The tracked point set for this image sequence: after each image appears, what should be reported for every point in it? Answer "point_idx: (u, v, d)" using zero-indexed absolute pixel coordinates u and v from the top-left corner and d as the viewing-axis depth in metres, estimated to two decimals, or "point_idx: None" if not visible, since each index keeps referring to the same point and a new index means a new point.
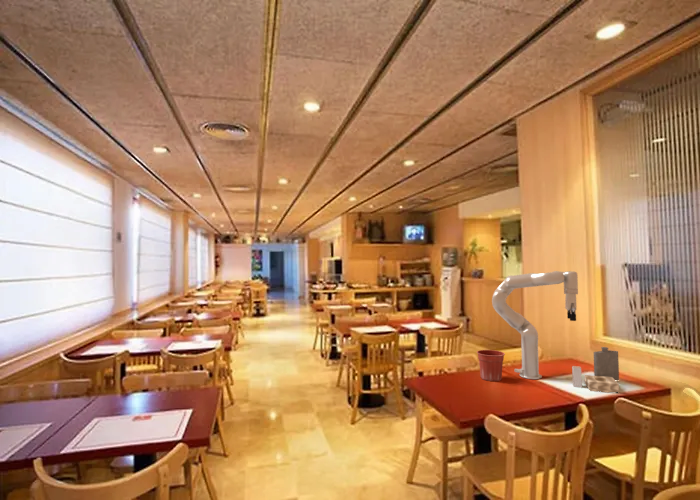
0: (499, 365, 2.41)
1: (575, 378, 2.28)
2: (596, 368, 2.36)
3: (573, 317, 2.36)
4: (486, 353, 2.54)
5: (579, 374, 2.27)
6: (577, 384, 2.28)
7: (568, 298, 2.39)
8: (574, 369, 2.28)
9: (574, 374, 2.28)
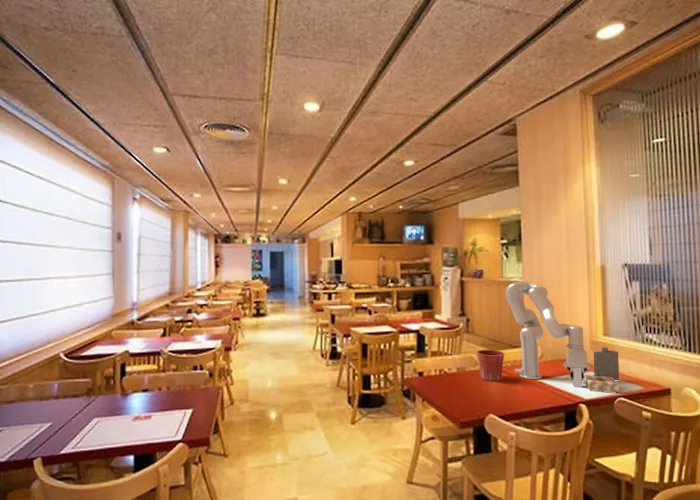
0: (499, 365, 2.41)
1: (575, 378, 2.28)
2: (596, 368, 2.36)
3: None
4: (486, 353, 2.54)
5: (579, 374, 2.27)
6: (577, 384, 2.28)
7: (585, 355, 2.26)
8: (574, 369, 2.28)
9: (574, 374, 2.28)
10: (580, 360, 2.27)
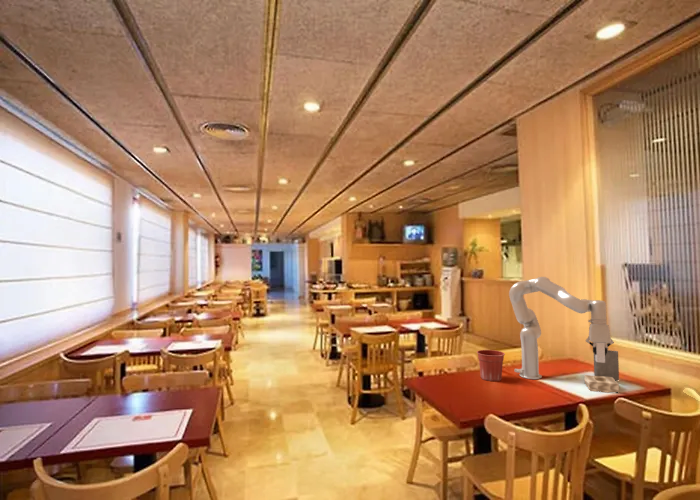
0: (499, 365, 2.41)
1: (598, 353, 2.24)
2: (596, 368, 2.36)
3: None
4: (486, 353, 2.54)
5: (602, 349, 2.23)
6: (600, 359, 2.24)
7: None
8: (597, 344, 2.24)
9: (597, 349, 2.24)
10: (603, 335, 2.23)
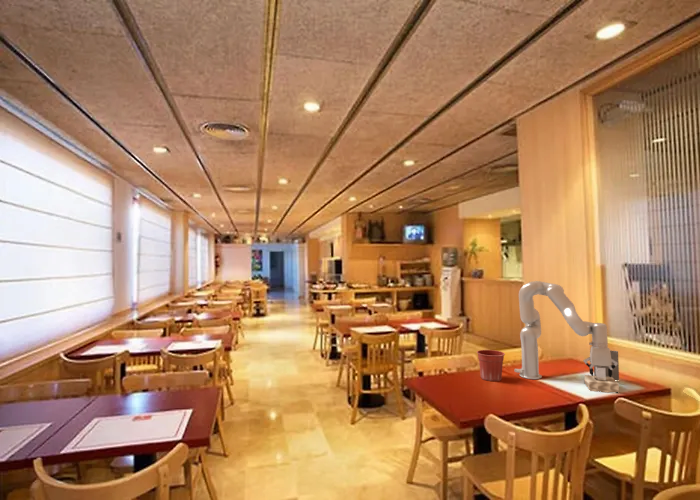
0: (499, 365, 2.41)
1: (599, 378, 2.24)
2: None
3: None
4: (486, 353, 2.54)
5: (603, 374, 2.23)
6: None
7: (610, 353, 2.22)
8: (598, 369, 2.24)
9: (598, 374, 2.24)
10: (604, 358, 2.22)
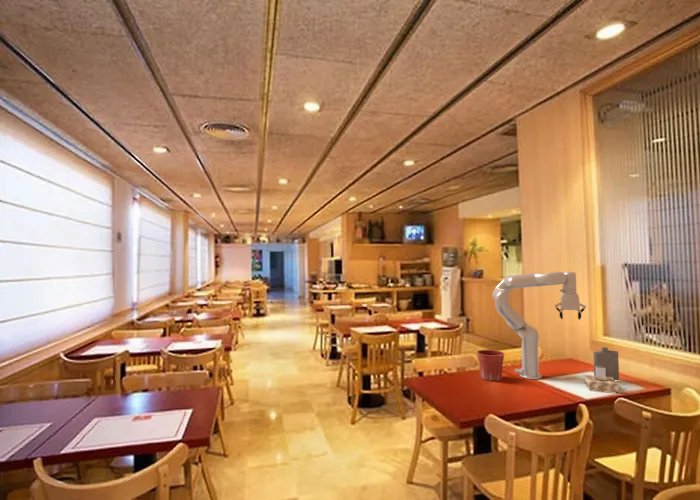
0: (499, 365, 2.41)
1: (599, 378, 2.24)
2: None
3: (580, 315, 2.45)
4: (486, 353, 2.54)
5: (603, 374, 2.23)
6: None
7: (578, 298, 2.44)
8: (598, 369, 2.24)
9: (598, 374, 2.24)
10: (573, 303, 2.44)
